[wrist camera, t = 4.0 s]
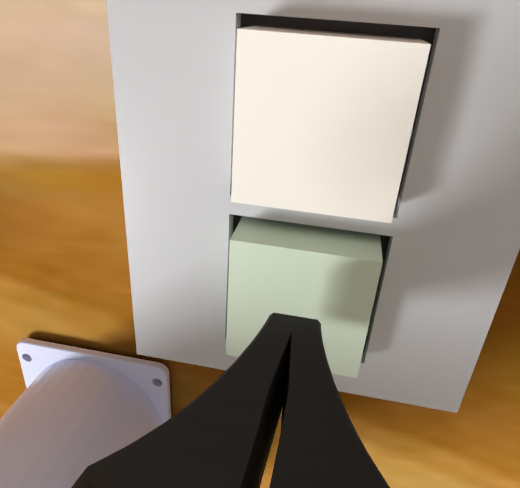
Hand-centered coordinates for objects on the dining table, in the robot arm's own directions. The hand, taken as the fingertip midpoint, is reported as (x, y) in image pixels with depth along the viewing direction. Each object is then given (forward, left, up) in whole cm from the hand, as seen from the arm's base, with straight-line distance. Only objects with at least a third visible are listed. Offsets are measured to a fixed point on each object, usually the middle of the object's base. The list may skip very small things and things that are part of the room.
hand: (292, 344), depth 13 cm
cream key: (+6, 0, -4) cm, 7 cm away
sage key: (0, 0, -4) cm, 4 cm away
